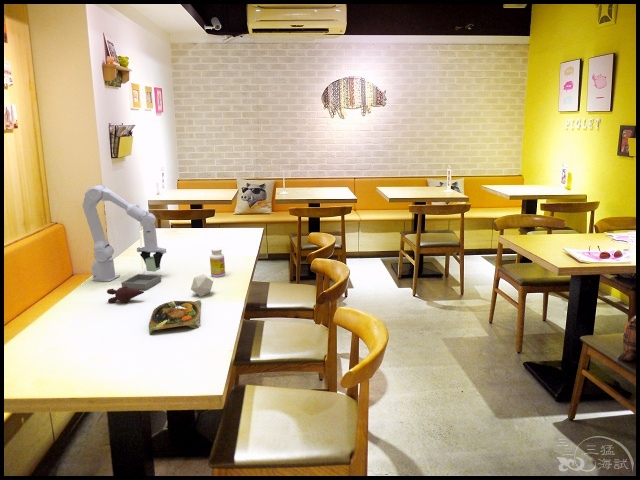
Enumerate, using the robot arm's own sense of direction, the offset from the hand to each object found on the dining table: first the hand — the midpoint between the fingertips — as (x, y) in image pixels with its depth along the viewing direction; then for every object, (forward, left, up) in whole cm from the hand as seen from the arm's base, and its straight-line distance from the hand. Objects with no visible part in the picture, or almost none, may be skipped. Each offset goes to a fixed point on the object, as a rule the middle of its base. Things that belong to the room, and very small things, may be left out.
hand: (153, 267), depth 234 cm
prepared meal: (+37, -43, -5) cm, 57 cm away
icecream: (+8, -32, -5) cm, 34 cm away
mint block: (0, 0, -2) cm, 2 cm away
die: (+35, -18, -5) cm, 40 cm away
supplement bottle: (+30, +7, -5) cm, 31 cm away
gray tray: (+2, -13, -5) cm, 14 cm away
